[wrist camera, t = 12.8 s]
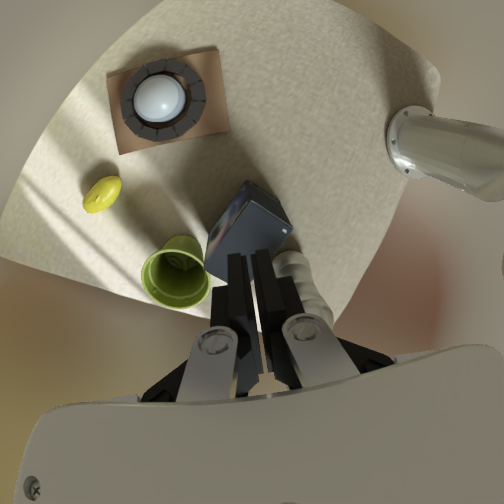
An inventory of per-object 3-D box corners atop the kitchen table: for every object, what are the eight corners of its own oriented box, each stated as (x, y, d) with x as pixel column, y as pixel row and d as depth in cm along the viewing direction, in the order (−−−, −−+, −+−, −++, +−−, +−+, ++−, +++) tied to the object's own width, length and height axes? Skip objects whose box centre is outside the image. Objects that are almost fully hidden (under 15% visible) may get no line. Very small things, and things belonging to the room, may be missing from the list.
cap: (183, 74, 30) (176, 68, 26) (191, 115, 33) (186, 113, 28) (140, 87, 30) (129, 83, 26) (149, 127, 33) (138, 128, 28)
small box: (244, 177, 38) (250, 197, 29) (281, 201, 40) (297, 228, 31) (205, 234, 42) (199, 270, 33) (241, 254, 44) (245, 293, 35)
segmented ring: (200, 55, 29) (198, 51, 27) (211, 130, 34) (209, 131, 32) (122, 75, 29) (116, 73, 26) (134, 147, 34) (128, 149, 32)
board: (218, 51, 29) (218, 49, 29) (230, 131, 35) (230, 131, 34) (109, 79, 29) (106, 78, 28) (121, 154, 35) (119, 155, 34)
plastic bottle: (314, 260, 46) (359, 347, 28) (285, 287, 48) (314, 380, 30) (287, 238, 43) (326, 324, 25) (258, 267, 45) (277, 362, 27)
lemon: (83, 194, 37) (71, 201, 33) (118, 166, 36) (108, 171, 32) (96, 215, 39) (86, 224, 35) (133, 189, 38) (124, 196, 34)
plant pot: (176, 211, 40) (164, 235, 32) (225, 247, 43) (225, 277, 35) (144, 255, 43) (129, 285, 35) (191, 286, 46) (185, 319, 38)
